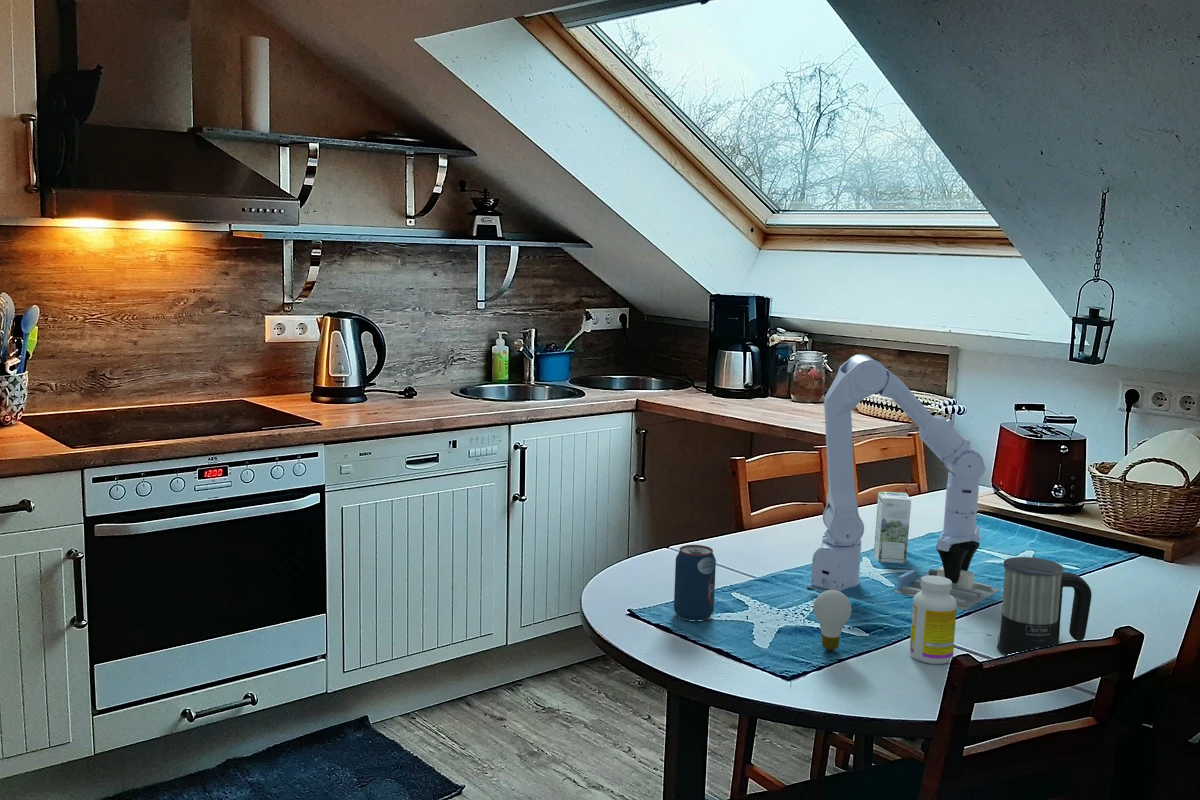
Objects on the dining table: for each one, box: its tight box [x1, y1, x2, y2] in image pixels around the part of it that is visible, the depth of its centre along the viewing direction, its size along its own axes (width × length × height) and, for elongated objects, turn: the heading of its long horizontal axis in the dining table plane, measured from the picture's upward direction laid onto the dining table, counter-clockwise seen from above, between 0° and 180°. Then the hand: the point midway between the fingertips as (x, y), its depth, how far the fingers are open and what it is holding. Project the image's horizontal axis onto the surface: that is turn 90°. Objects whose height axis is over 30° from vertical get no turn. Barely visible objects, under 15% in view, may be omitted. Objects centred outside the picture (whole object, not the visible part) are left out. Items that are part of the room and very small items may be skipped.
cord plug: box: [928, 565, 975, 589], centre depth 205 cm, size 3×8×3 cm, turn 49°
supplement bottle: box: [909, 575, 958, 665], centre depth 171 cm, size 7×7×13 cm
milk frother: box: [996, 556, 1092, 656], centre depth 178 cm, size 14×16×15 cm
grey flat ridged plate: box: [892, 569, 1001, 611], centre depth 202 cm, size 16×14×4 cm
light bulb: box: [813, 589, 852, 652], centre depth 173 cm, size 6×6×10 cm
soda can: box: [673, 544, 717, 621], centre depth 187 cm, size 7×7×12 cm
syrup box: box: [873, 491, 912, 564], centre depth 220 cm, size 6×6×14 cm
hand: (955, 579), depth 204 cm, fingers closed on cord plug, 3 cm apart
